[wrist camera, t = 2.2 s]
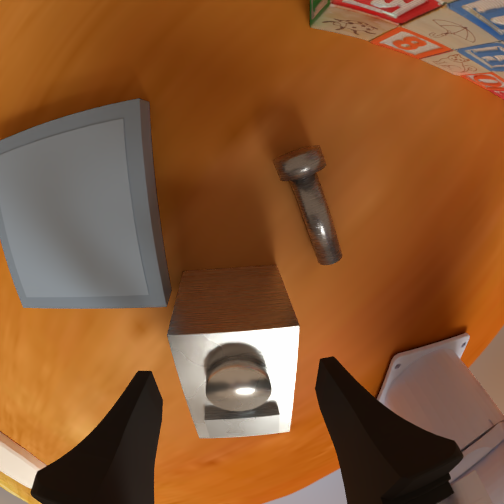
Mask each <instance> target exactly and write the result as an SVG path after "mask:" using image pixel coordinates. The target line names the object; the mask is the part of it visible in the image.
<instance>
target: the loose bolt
mask: <svg viewBox="0 0 504 504" xmlns="http://www.w3.org/2000/svg"><path fill="white" fill-rule="evenodd" d="M273 163H274V165H275V168H276V170H277V173H278V175H279V178H280V180H281V181H290V183H291V186H292V188H293V191H294V194H295V197H296V199H297V202H298V205H299V207H300V210H301V213H302V216H303V219H304V221H305V224H306V227H307V230H308V233H309V236H310V239H311V241H312V244H313V247H314V250H315V253H316V256H317V259H318V262H319V263H320V264H321V265H330V264H333V263H336V262H337V261H339V260H340V259H341V258H342V252H341V249H340V245H339V242H338V238H337V235H336V231H335V228H334V225H333V222H332V218H331V215H330V212H329V209H328V206H327V203H326V199H325V196H324V193H323V190H322V187H321V184H320V181H319V179H318V176H317V173H316V172H318V171H320V170H321V169H323V168H324V167H325V166H326V162H325V159H324V156H323V154H322V151H321V148H320V146H319V145H315V146H309V147H305V148H301V149H298V150H295V151H292V152H290V153H287V154H285V155H283V156H280V157H279V158H277V159H275V160H274V161H273Z"/></svg>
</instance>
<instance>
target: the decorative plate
mask: <svg viewBox="0 0 504 504" xmlns="http://www.w3.org/2000/svg"><path fill="white" fill-rule="evenodd" d="M46 466H47V465H45V464H44V463H43V462H41V461H40V460H39V459H37V458H36V457H35V456H33V455H32V454H31V453H30V452H28V451H27V450H26V449H24V448H23V447H21V446H20V445H18V444H17V443H15V442H14V441H13V440H11V439H10V438H8V437H7V436H6V435H4V434H3V433H2V432H0V471H1V472H3V473H4V474H6V475H8V476H9V477H11V478H12V479H14V480H16V481H17V482H19V483H21V484H23V485H24V486H26V487H28V488H31V489H32V486H33V482H34V479H35V476H36V473H37V471H39V470H41V469H42V468H44V467H46Z"/></svg>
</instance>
